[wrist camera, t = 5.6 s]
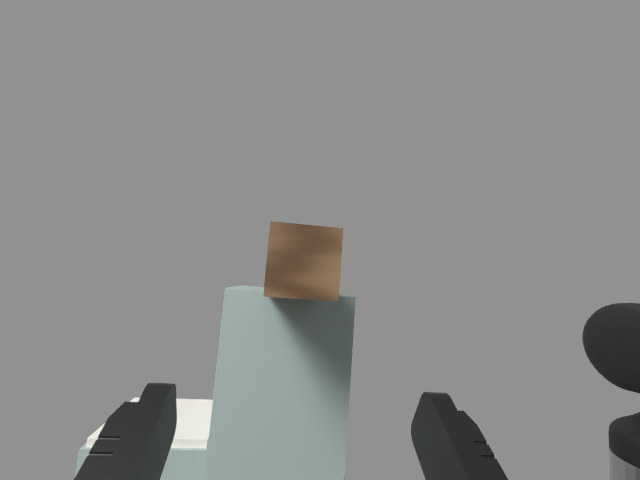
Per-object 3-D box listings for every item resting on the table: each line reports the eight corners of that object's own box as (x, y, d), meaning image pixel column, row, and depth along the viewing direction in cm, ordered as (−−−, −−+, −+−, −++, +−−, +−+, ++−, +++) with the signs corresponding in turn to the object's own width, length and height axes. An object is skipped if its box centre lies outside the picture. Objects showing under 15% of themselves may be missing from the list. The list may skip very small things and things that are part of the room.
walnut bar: (303, 289, 38) (306, 254, 38) (338, 301, 18) (343, 228, 18) (267, 287, 37) (270, 251, 38) (263, 296, 17) (270, 221, 18)
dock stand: (307, 609, 34) (329, 291, 38) (326, 784, 22) (355, 297, 26) (106, 620, 31) (153, 279, 35) (8, 825, 20) (95, 279, 24)
